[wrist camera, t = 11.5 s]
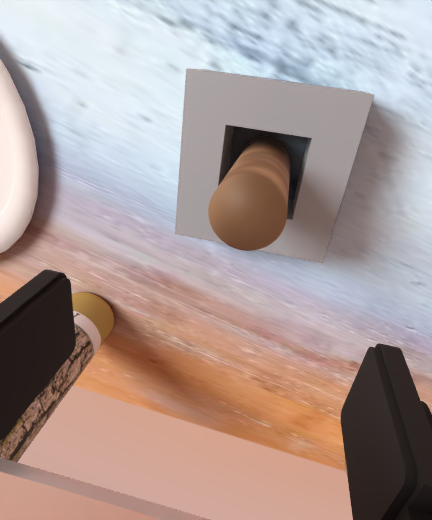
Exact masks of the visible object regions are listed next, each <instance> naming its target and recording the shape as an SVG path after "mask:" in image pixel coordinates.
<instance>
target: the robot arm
mask: <svg viewBox="0 0 432 520" xmlns="http://www.w3.org/2000/svg"><path fill="white" fill-rule="evenodd" d="M75 346H76V336H75V325H74V314H73V303H72V293H71V283H70V280H69V279H67V278H66V275H65V274H64V273H61V272H56V271H52V270H44V271H42V272H41V273H40V274H38V275H37V276H36V277H34V278H33V279H32V280H30V281H29V282H28V283H27V284H25V285H24V286H23V287H21V288H20V289H19V290H17V291H16V292H15V293H13V294H12V295H11V296H10V297H8V298H7V299H6V300H4V301H3V302H2V303H0V441H1V440H2V439H3V438H4V437H5V436H6V435H7V433H8V432H9V431H10V430H11V428H12V427H13V426H14V425H15V423H16V422H17V421H18V420H19V418H20V417H21V416H22V415H23V414H24V412H25V411H26V410H27V409H28V407H29V406H30V405H31V404H32V402H33V401H34V400H35V399H36V398H37V396H38V395H39V394H40V393H41V391H42V390H43V389H44V388H45V386H46V385H47V384H48V383H49V382H50V380H51V379H52V378H53V377H54V375H55V374H56V373H57V372H58V370H59V369H60V368H61V367H62V366H63V364H64V363H65V362H66V361H67V359H68V358H69V357H70V356H71V354H72V353H73V351H74V349H75ZM341 427H342V435H343V443H344V451H345V459H346V462H345V464H346V473H347V477H348V483H349V491H350V498H351V507H352V515H353V520H432V414H431V412H430V410H429V408H428V406H427V404H426V403H424V402H423V401H420V398H419V396H418V393H417V390H416V388H415V385H414V382H413V380H412V377H411V374H410V372H409V369H408V366H407V364H406V361H405V358H404V356H403V353H402V351H401V349H400V348H398V347H393V346H389V345H384V344H380V343H379V344H377V345H376V346H375V348H374V347H369V349H368V350H367V353H366V355H365V357H364V360H363V362H362V364H361V366H360V369H359V371H358V373H357V376H356V378H355V380H354V382H353V385H352V387H351V389H350V392H349V394H348V396H347V399H346V401H345V403H344V405H343V408H342V411H341ZM0 520H209V519H206V518H203V517H199V516H196V515H193V514H189V513H186V512H183V511H180V510H176V509H172V508H170V507H166V506H163V505H160V504H156V503H153V502H149V501H146V500H143V499H139V498H136V497H133V496H129V495H126V494H122V493H119V492H115V491H112V490H109V489H106V488H102V487H99V486H95V485H92V484H89V483H85V482H82V481H79V480H75V479H71V478H69V477H65V476H62V475H58V474H55V473H51V472H48V471H44V470H41V469H38V468H34V467H30V466H27V465H24V464H20V463H17V462H14V461H10V460H7V459H3V458H0Z"/></svg>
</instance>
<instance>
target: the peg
mask: <svg viewBox="0 0 432 520" xmlns="http://www.w3.org/2000/svg"><path fill="white" fill-rule="evenodd" d="M290 167H291V155H290V152H289V149H288V147H287V146H286V145H285V143H284V142H283V141H281V140H280V139H278V138H276V137H273V136H261V137H258V138H256V139H254V140H252V141H251V142H250V143H249V144H248V145H247V146H246V148H245V149H244V151H243V152H242V153H241V155H240V156H239V158H238V159H237V161H236V162H235V163H234V165H233V166H232V168H231V169H230V171H229V172H228V173H227V175H226V176H225V178H224V179H223V180H222V182H221V183H220V185H219V186H218V188H217V189H216V190H215V192H214V193H213V195H212V197H211V199H210V203H209V207H208V216H209V221H210V224H211V227H212V229H213V231H214V232H215V234H216V235H217V236H218V237H219V239H221V240H222V241H223V242H224V243H226V244H227V245H229V246H231V247H233V248H236V249H240V250H246V251H251V250H258V249H262V248H264V247H266V246H268V245H270V244H272V243H273V242H274V241H275V240H276V239H277V238H278V237H279V236H280V235H281V233H282V231H283V229H284V227H285V224H286V219H287V208H288V194H289V181H290Z"/></svg>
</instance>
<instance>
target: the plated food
mask: <svg viewBox="0 0 432 520" xmlns="http://www.w3.org/2000/svg"><path fill="white" fill-rule="evenodd" d="M38 177H39V167H38V160H37V152H36V145H35V138H34V135H33V132H32V129H31V125H30V122H29V119H28V115H27V112H26V109H25V106H24V104H23V101H22V99H21V97H20V95H19V93H18V91H17V89H16V86H15V84H14V82H13V80H12V78H11V76H10V74H9V72H8V70H7V68H6V67H5V65H4V64H3V62H2V61H1V59H0V253H2V252H4V251H6V250H8V249H9V248H10V247H11V246H12V245H13V244H14V243H15V242H16V241H17V240H18V239H19V238H20V237H21V236H22V234H23V233H24V231H25V229H26V227H27V226H28V224H29V222H30V220H31V219H32V215H33V211H34V208H35V204H36V200H37V197H38Z"/></svg>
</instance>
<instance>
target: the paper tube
mask: <svg viewBox="0 0 432 520" xmlns="http://www.w3.org/2000/svg"><path fill="white" fill-rule="evenodd" d="M72 303H73V314H74V325H75V336H76V346H75V349H74V351H73V353H72V354H71V356H70V357H69V358H68V359H67V361H66V362H65V363H64V364H63V366H62V367H61V368H60V369H59V370H58V372H57V373H56V374H55V375H54V377H53V378H52V379H51V380H50V382H49V383H48V384H47V385H46V386H45V388H44V389H43V390H42V391H41V393H40V394H39V395H38V396H37V398H36V399H35V400H34V401H33V402H32V404H31V405H30V406H29V407H28V409H27V410H26V411H25V412H24V414H23V415H22V416H21V417H20V418H19V420H18V421H17V422H16V423H15V425H14V426H13V427H12V428H11V430H10V431H9V432H8V433H7V435H6V436H5V437H4V438H3V439H2V440H1V441H0V458H3V459H7V460H10V461H14V462H18V460H19V459H20V458H21V456H22V455H23V453H24V452H25V451H26V449H27V448H28V446H29V445H30V444H31V442H32V441H33V439H34V438H35V437H36V435H37V434H38V433H39V431H40V430H41V428H42V427H43V425H44V424H45V423H46V421H47V420H48V419H49V417H50V416H51V414H52V413H53V412H54V410H55V409H56V408H57V406H58V405H59V403H60V402H61V400H62V399H63V398H64V396H65V395H66V394H67V392H68V391H69V390H70V388H71V387H72V385H73V384H74V383H75V381H76V380H77V378H78V377H79V376H80V374H81V373H82V371H83V370H84V369H85V367H86V366H87V365H88V363H89V362H90V360H91V359H92V358H93V356H94V355H95V353H96V352H97V351H98V349H99V348H100V346H101V345H102V343H103V342H104V341H105V339H106V338H107V336H108V335H109V334H110V332H111V331H112V329H113V327H114V322H115V321H114V314H113V312H112V310H111V308H110V306H109V305H108V304H107V303H106V302H105V301H104V300H103V299H102V298H100V297H99V296H97V295H94V294H92V293H87V292H78V293H74V294H72Z"/></svg>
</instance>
